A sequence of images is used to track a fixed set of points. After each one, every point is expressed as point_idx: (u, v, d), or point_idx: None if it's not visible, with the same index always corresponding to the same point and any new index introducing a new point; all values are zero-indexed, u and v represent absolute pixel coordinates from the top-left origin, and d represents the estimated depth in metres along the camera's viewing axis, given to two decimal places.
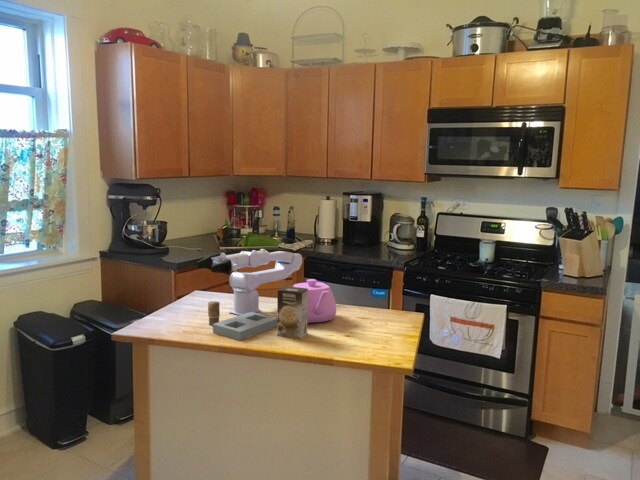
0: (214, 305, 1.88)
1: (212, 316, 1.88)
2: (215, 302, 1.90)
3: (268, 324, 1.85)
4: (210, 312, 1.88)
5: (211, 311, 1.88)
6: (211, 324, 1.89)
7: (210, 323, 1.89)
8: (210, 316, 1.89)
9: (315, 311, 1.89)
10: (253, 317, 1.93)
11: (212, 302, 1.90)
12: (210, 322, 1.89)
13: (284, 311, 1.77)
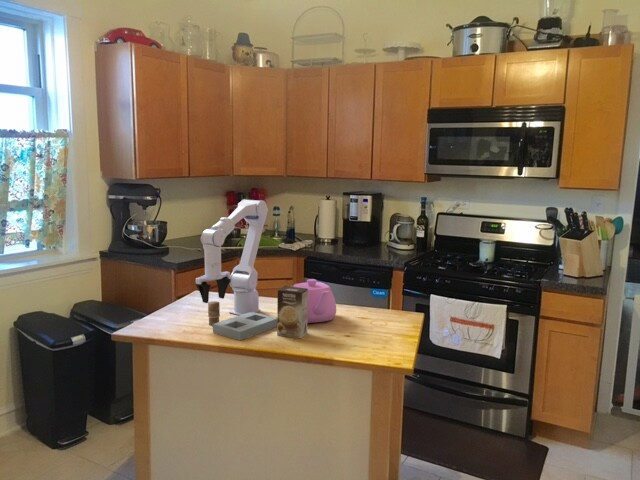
0: (214, 305, 1.88)
1: (212, 316, 1.88)
2: (215, 302, 1.90)
3: (268, 324, 1.85)
4: (210, 312, 1.88)
5: (211, 311, 1.88)
6: (211, 324, 1.89)
7: (210, 323, 1.89)
8: (210, 316, 1.89)
9: (315, 311, 1.89)
10: (253, 317, 1.93)
11: (212, 302, 1.90)
12: (210, 322, 1.89)
13: (284, 311, 1.77)
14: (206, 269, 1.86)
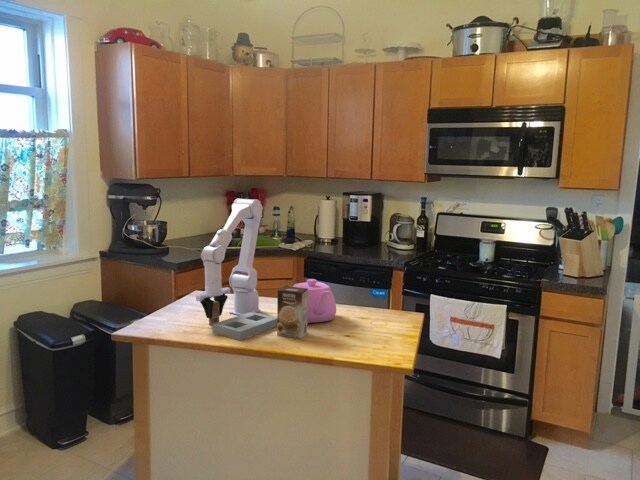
0: (214, 305, 1.88)
1: (212, 316, 1.88)
2: (215, 302, 1.90)
3: (268, 324, 1.85)
4: None
5: None
6: (211, 324, 1.89)
7: (210, 323, 1.89)
8: None
9: (315, 311, 1.89)
10: (253, 317, 1.93)
11: None
12: (210, 322, 1.89)
13: (284, 311, 1.77)
14: (206, 286, 1.87)
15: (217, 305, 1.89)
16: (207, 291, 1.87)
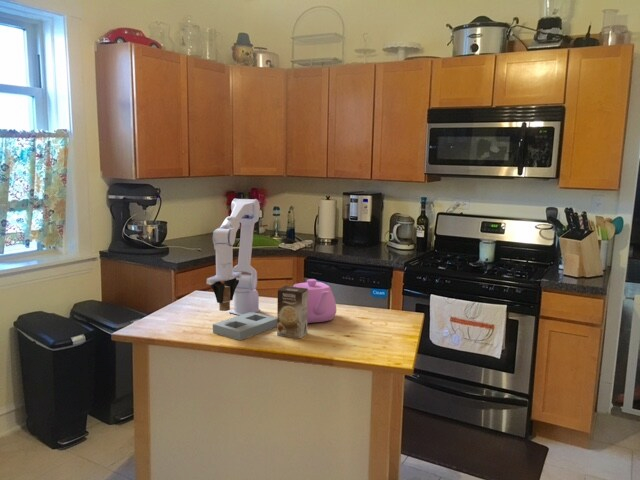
0: (225, 289, 1.82)
1: (223, 301, 1.82)
2: (226, 286, 1.84)
3: (268, 324, 1.85)
4: None
5: None
6: (222, 309, 1.83)
7: (220, 308, 1.83)
8: None
9: (315, 311, 1.89)
10: (253, 317, 1.93)
11: None
12: (220, 307, 1.83)
13: (284, 311, 1.77)
14: (217, 269, 1.81)
15: (228, 289, 1.83)
16: (218, 275, 1.81)
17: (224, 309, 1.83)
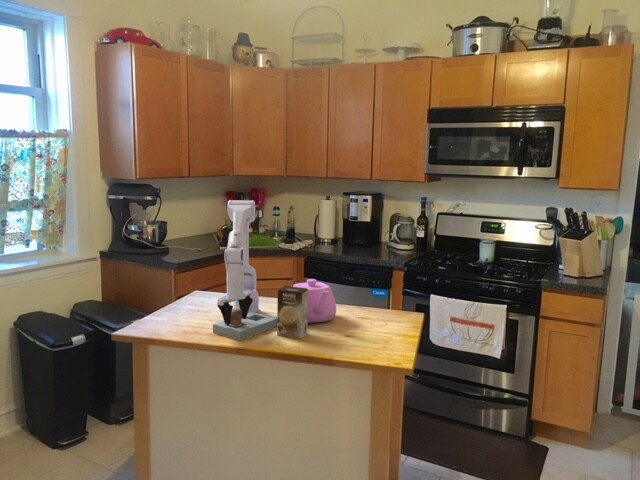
0: (236, 313, 1.79)
1: (234, 325, 1.79)
2: (237, 310, 1.81)
3: (268, 324, 1.85)
4: (232, 320, 1.79)
5: (233, 319, 1.79)
6: None
7: None
8: (232, 324, 1.80)
9: (315, 311, 1.89)
10: (253, 317, 1.93)
11: (234, 310, 1.81)
12: None
13: (284, 311, 1.77)
14: (228, 289, 1.77)
15: (239, 313, 1.79)
16: (229, 295, 1.77)
17: None
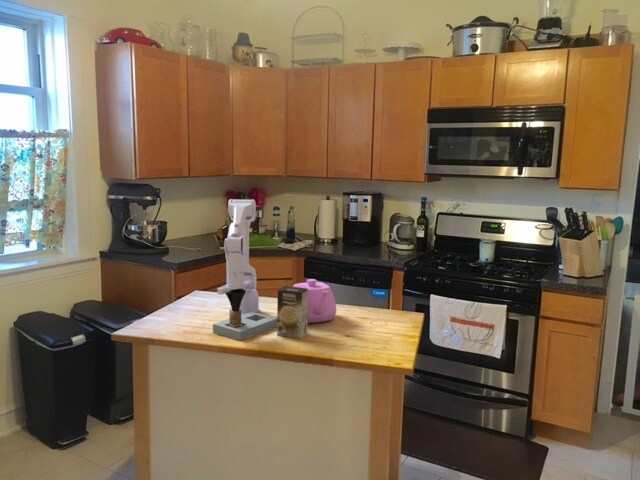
0: (236, 313, 1.79)
1: (234, 325, 1.79)
2: None
3: (268, 324, 1.85)
4: (231, 320, 1.79)
5: (232, 319, 1.79)
6: None
7: None
8: (231, 325, 1.80)
9: (315, 311, 1.89)
10: (253, 317, 1.93)
11: None
12: None
13: (284, 311, 1.77)
14: (228, 278, 1.77)
15: (239, 313, 1.79)
16: (229, 284, 1.77)
17: None
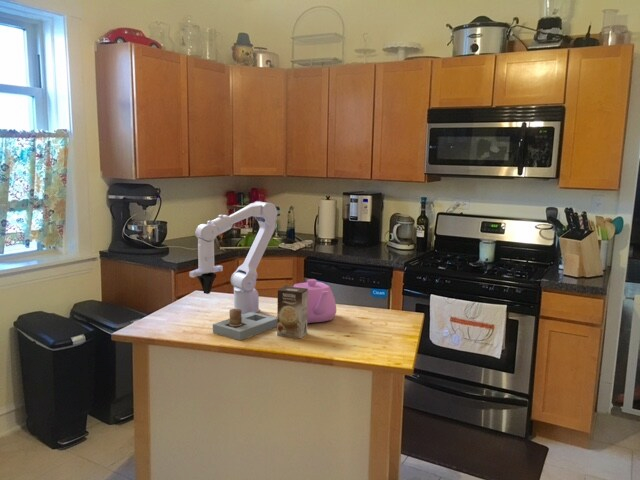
0: (236, 313, 1.79)
1: (234, 325, 1.79)
2: (237, 310, 1.81)
3: (268, 324, 1.85)
4: (232, 320, 1.79)
5: (233, 319, 1.79)
6: None
7: None
8: (232, 324, 1.80)
9: (315, 311, 1.89)
10: (253, 317, 1.93)
11: (234, 310, 1.81)
12: None
13: (284, 311, 1.77)
14: (199, 263, 1.91)
15: (239, 313, 1.79)
16: (200, 268, 1.91)
17: None
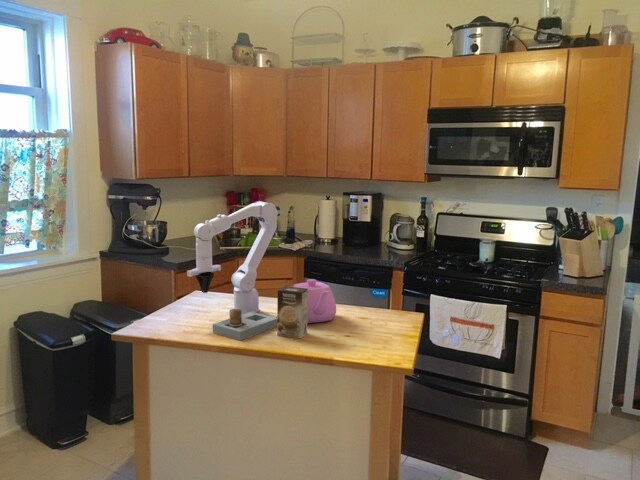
0: (236, 313, 1.79)
1: (234, 325, 1.79)
2: (237, 310, 1.81)
3: (268, 324, 1.85)
4: (232, 320, 1.79)
5: (233, 319, 1.79)
6: None
7: None
8: (232, 324, 1.80)
9: (315, 311, 1.89)
10: (253, 317, 1.93)
11: (234, 310, 1.81)
12: None
13: (284, 311, 1.77)
14: (197, 262, 1.93)
15: (239, 313, 1.79)
16: (198, 267, 1.93)
17: None
